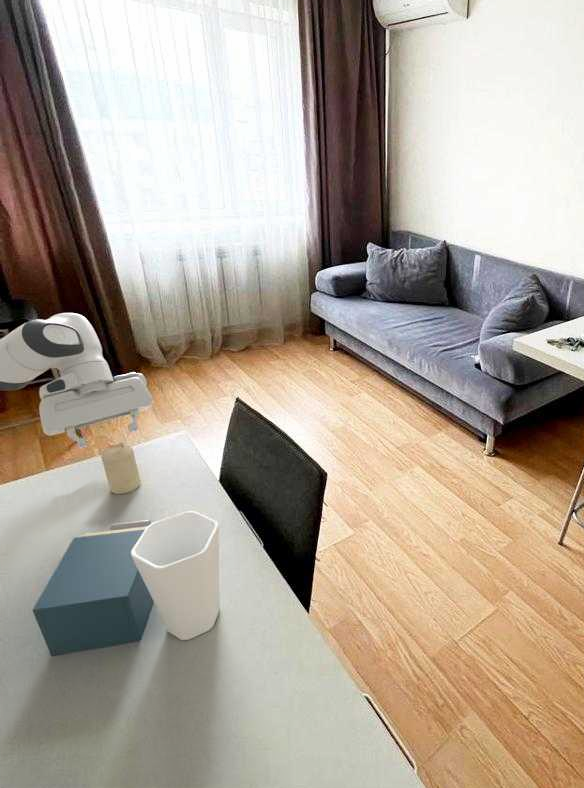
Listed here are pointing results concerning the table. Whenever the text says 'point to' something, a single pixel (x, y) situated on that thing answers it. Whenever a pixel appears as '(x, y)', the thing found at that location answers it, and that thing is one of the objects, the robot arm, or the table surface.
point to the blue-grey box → (94, 596)
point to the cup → (182, 571)
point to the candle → (121, 468)
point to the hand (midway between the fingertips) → (109, 439)
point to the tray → (123, 527)
